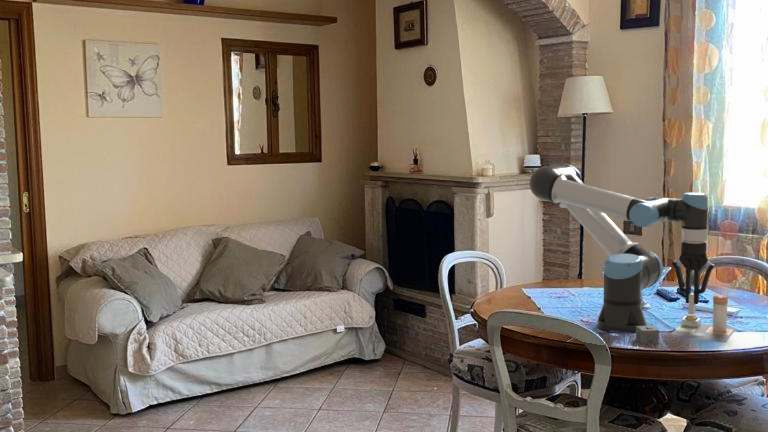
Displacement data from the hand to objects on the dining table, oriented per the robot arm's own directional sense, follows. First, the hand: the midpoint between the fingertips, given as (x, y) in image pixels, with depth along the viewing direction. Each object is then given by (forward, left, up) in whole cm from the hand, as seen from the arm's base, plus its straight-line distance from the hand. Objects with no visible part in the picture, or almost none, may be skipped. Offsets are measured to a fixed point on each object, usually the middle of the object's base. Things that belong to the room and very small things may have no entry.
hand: (691, 313), depth 245 cm
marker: (+9, -2, -4) cm, 10 cm away
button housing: (0, 0, -4) cm, 4 cm away
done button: (0, 0, -2) cm, 2 cm away
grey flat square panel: (+5, -5, -5) cm, 8 cm away
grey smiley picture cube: (-7, -24, -5) cm, 26 cm away
